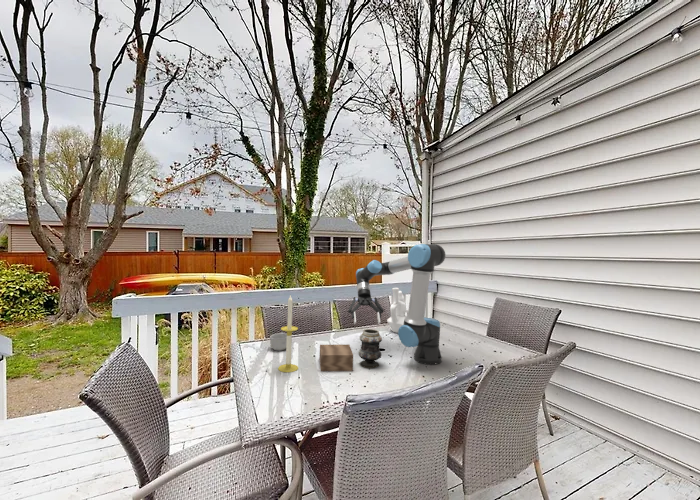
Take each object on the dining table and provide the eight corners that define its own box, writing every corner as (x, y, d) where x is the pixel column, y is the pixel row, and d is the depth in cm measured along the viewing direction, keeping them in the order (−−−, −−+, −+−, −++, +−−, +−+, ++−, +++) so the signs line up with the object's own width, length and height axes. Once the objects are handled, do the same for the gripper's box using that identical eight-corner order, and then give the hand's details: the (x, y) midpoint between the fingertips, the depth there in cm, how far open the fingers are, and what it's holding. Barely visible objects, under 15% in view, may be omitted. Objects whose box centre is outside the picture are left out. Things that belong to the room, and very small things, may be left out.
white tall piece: (416, 332, 245) (419, 287, 244) (398, 338, 230) (400, 290, 228) (396, 326, 258) (398, 284, 256) (377, 332, 242) (379, 286, 241)
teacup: (284, 353, 194) (284, 339, 194) (266, 351, 196) (266, 337, 196) (293, 345, 208) (293, 332, 207) (276, 343, 210) (276, 330, 209)
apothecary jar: (384, 363, 184) (386, 330, 183) (374, 370, 174) (375, 335, 173) (365, 358, 191) (366, 326, 190) (353, 365, 181) (355, 331, 180)
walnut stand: (348, 358, 189) (349, 344, 189) (352, 370, 173) (353, 355, 173) (319, 359, 187) (319, 344, 187) (320, 371, 171) (321, 355, 171)
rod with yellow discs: (289, 374, 166) (291, 296, 164) (273, 369, 171) (275, 294, 169) (302, 367, 175) (304, 294, 173) (287, 363, 180) (289, 291, 178)
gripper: (383, 295, 210) (387, 326, 196) (342, 294, 207) (344, 326, 193) (385, 288, 205) (390, 319, 191) (343, 287, 202) (345, 319, 188)
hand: (367, 323), depth 192 cm, fingers open, 13 cm apart
